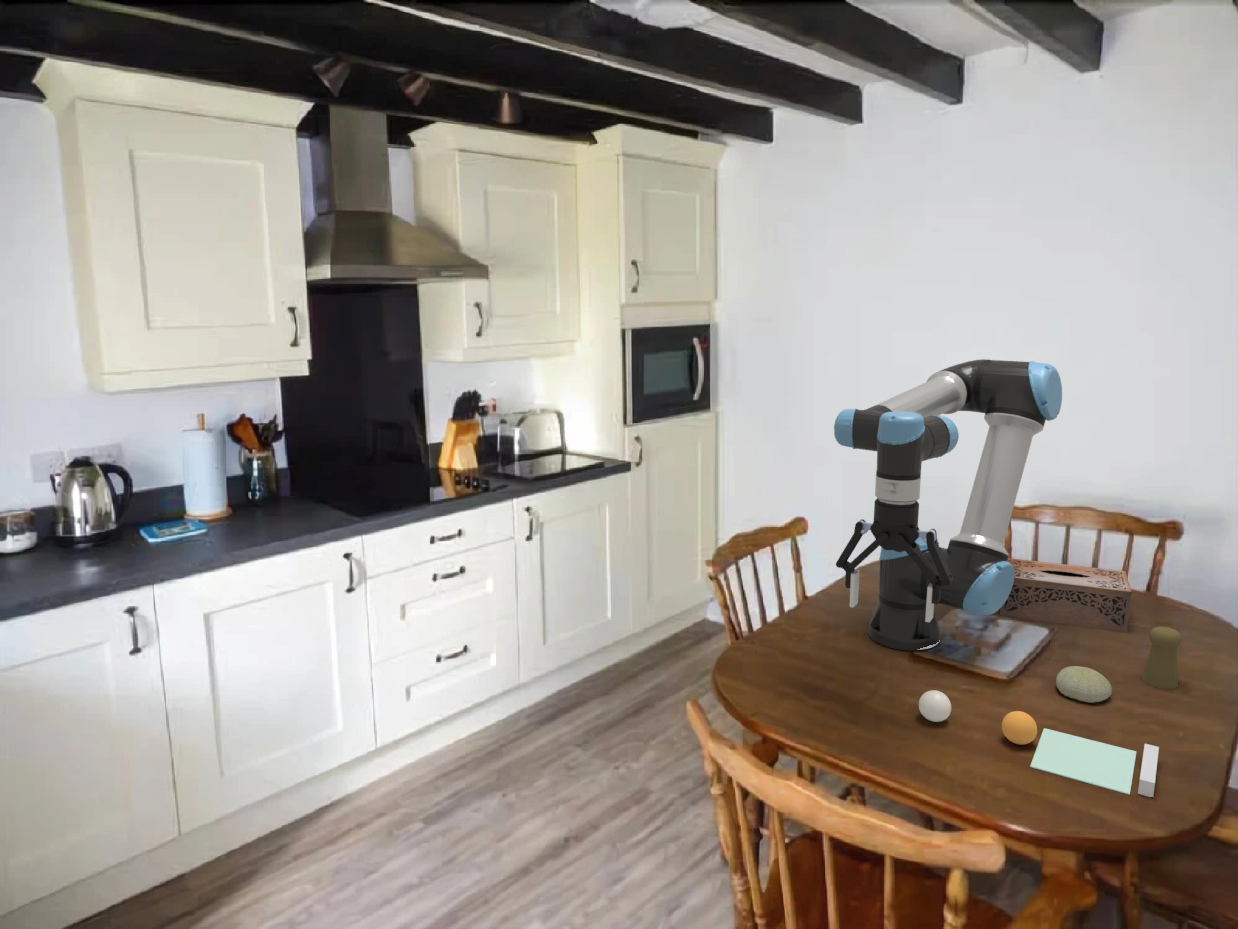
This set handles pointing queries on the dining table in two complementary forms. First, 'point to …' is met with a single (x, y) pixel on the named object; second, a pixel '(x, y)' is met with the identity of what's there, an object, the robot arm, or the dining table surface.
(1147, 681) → the cork
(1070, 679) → the sea urchin shell
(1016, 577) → the tissue box cover
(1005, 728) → the orange ball
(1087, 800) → the dining table surface
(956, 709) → the dining table surface
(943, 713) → the cue ball
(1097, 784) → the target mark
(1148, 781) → the stopper
